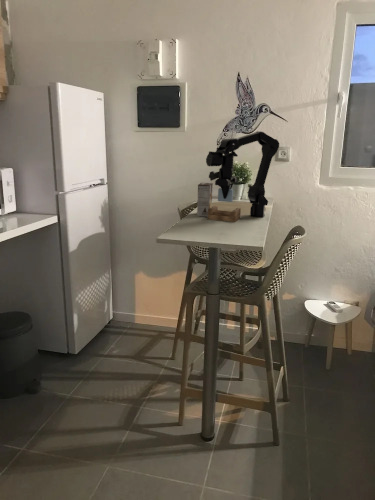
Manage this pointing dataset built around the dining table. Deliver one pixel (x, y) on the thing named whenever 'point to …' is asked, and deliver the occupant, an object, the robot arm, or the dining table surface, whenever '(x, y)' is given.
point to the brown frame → (223, 214)
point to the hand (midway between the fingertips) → (225, 198)
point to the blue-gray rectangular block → (228, 198)
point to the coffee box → (204, 198)
